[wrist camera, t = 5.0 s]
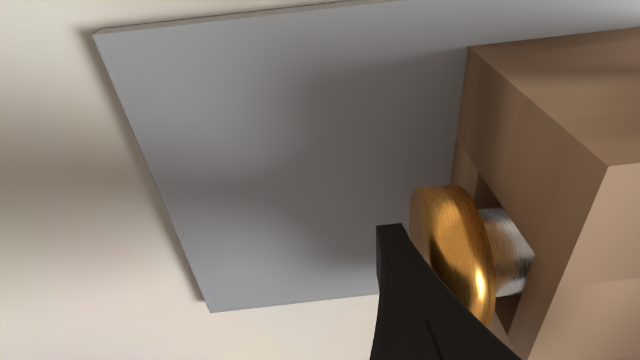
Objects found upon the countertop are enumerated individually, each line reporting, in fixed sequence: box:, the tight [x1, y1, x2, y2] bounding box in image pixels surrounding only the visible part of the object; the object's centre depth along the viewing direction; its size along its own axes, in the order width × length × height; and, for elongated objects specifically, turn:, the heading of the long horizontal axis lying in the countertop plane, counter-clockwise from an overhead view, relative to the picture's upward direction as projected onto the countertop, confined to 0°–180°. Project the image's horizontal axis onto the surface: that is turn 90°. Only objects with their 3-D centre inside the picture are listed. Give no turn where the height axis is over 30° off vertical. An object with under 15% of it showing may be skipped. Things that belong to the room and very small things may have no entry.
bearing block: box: [450, 27, 640, 360], centre depth 11 cm, size 6×9×6 cm, turn 5°
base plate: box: [92, 0, 640, 313], centre depth 14 cm, size 17×12×1 cm
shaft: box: [409, 184, 535, 328], centre depth 11 cm, size 10×4×4 cm, turn 95°
